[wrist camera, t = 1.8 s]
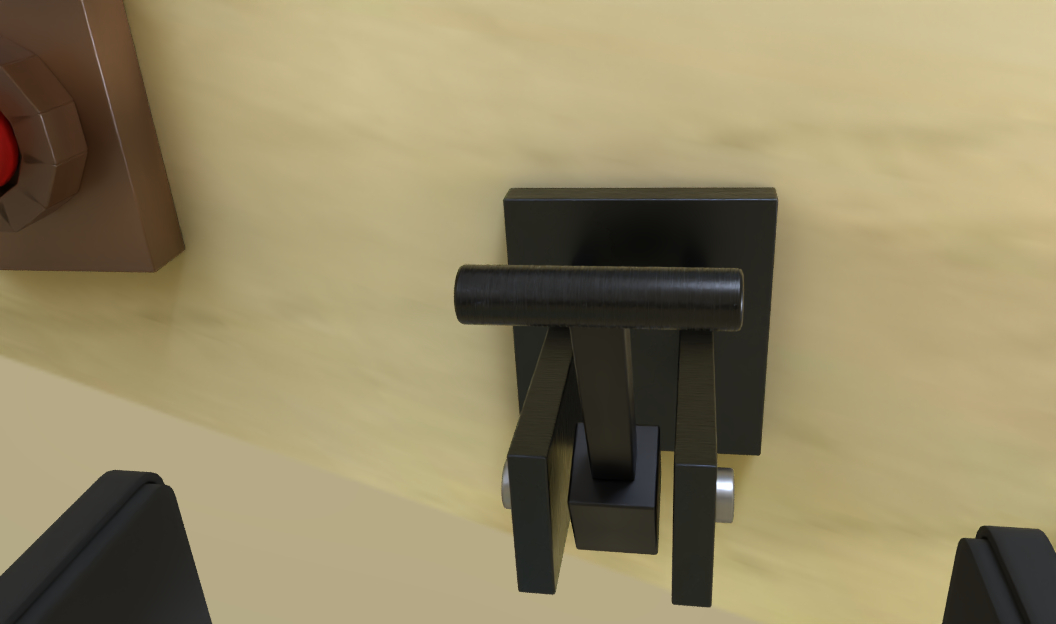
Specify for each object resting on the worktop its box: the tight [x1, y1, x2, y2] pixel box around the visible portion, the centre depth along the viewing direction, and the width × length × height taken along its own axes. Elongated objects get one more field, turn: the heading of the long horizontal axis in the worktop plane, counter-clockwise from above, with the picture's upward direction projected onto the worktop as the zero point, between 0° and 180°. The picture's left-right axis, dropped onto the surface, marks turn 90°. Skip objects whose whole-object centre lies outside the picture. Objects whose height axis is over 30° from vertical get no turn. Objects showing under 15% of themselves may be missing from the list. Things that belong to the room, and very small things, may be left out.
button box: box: [0, 0, 185, 272], centre depth 31 cm, size 11×9×4 cm
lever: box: [454, 265, 744, 555], centre depth 21 cm, size 10×6×2 cm, turn 4°
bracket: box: [502, 188, 778, 607], centre depth 27 cm, size 10×9×12 cm
